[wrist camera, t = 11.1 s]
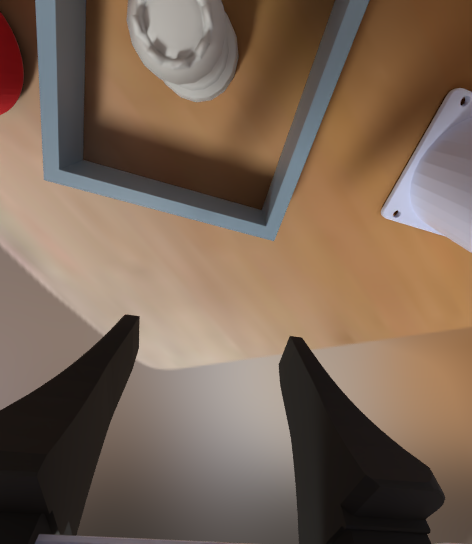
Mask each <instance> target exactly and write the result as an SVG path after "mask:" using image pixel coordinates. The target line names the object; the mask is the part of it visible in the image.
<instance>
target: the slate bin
mask: <svg viewBox="0 0 472 544" xmlns="http://www.w3.org/2000/svg"><path fill="white" fill-rule="evenodd" d="M368 3H369V0H335V2H334V5H333V8H332V11H331V14H330V17H329V19H328V22H327V25H326V28H325V31H324V34H323V36H322V39H321V42H320V45H319V48H318V51H317V54H316V56H315V59H314V62H313V65H312V68H311V71H310V74H309V76H308V79H307V82H306V85H305V88H304V91H303V94H302V96H301V99H300V102H299V105H298V108H297V111H296V113H295V116H294V119H293V122H292V125H291V128H290V131H289V133H288V136H287V139H286V142H285V145H284V148H283V151H282V153H281V156H280V159H279V162H278V165H277V168H276V171H275V173H274V176H273V179H272V182H271V185H270V188H269V191H268V193H267V196H266V199H265V202H264V205H263V208H262V210H259V209H256V208H252V207H249V206H245V205H242V204H238V203H235V202H231V201H227V200H224V199H220V198H217V197H213V196H210V195H206V194H203V193H199V192H196V191H192V190H189V189H185V188H181V187H178V186H174V185H171V184H167V183H164V182H160V181H157V180H153V179H150V178H146V177H142V176H139V175H135V174H132V173H128V172H125V171H121V170H118V169H114V168H111V167H107V166H104V165H100V164H96V163H93V162H89V161H86V160H83V137H84V84H85V31H86V0H35V5H36V26H37V46H38V67H39V87H40V108H41V129H42V149H43V170H44V180H46V181H50V182H54V183H57V184H61V185H65V186H69V187H72V188H76V189H80V190H84V191H87V192H91V193H95V194H99V195H102V196H106V197H110V198H114V199H118V200H121V201H125V202H129V203H133V204H136V205H140V206H144V207H148V208H151V209H155V210H159V211H163V212H166V213H170V214H174V215H178V216H181V217H185V218H189V219H193V220H196V221H200V222H204V223H208V224H212V225H215V226H219V227H223V228H227V229H230V230H234V231H238V232H242V233H245V234H249V235H253V236H257V237H260V238H264V239H268V240H272V241H274V240H275V237H276V235H277V232H278V230H279V227H280V225H281V222H282V220H283V217H284V215H285V212H286V210H287V207H288V205H289V202H290V199H291V197H292V194H293V192H294V189H295V187H296V184H297V182H298V179H299V177H300V174H301V172H302V169H303V167H304V164H305V162H306V159H307V157H308V154H309V152H310V149H311V146H312V144H313V141H314V139H315V136H316V134H317V131H318V129H319V126H320V124H321V121H322V119H323V116H324V114H325V111H326V109H327V106H328V104H329V101H330V99H331V96H332V93H333V91H334V88H335V86H336V83H337V81H338V78H339V76H340V73H341V71H342V68H343V66H344V63H345V61H346V58H347V56H348V53H349V51H350V48H351V46H352V43H353V40H354V38H355V35H356V33H357V30H358V28H359V25H360V23H361V20H362V18H363V15H364V13H365V10H366V8H367V5H368Z"/></svg>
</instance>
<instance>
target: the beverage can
mask: <svg viewBox="0 0 472 544" xmlns="http://www.w3.org/2000/svg"><path fill="white" fill-rule="evenodd" d="M23 79H24V71H23V62H22V56H21V53H20V49H19V46H18V43H17V41H16V38H15V36H14V34H13V32H12V30H11V28H10V26H9V24H8V23H7V21H6V19H5V18H4V16H3V15H2V13H1V12H0V115H1V114H3V113H5V112H7V111H8V110H10V109H11V108H12V107H13V106H14V105H15V103H16V101H17V100H18V98H19V96H20V94H21V90H22V86H23Z"/></svg>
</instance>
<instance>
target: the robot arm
mask: <svg viewBox="0 0 472 544" xmlns="http://www.w3.org/2000/svg"><path fill="white" fill-rule="evenodd" d="M463 97H465V102H464V104H463V105H460V102H461V99H462V98H463ZM397 210H398V213H397V214H396V215H394V216H393V213H394V212H395V211H397ZM381 214H382V216H383V217H385V218H386V219H389V220H393V221H396V222H399V223H403V224H406V225H409V226H413V227H416V228H419V229H423V230H426V231H429V232H433V233H436V234H439V235H443V236H446V237H448V238H449V239H451V240H452V241H454V242H455V243H457V244H459V245H460V246H462V247H463V248H465V249H466V250H468V251H470V252H471V253H472V92H471V91H468V90H466V89H464V88H455V89H453V90H451V91H450V92H449V93H448V94H447V96H446V97H445V99H444V101H443V103H442V104H441V106H440V108H439V110H438V111H437V113H436V115H435V117H434V118H433V120H432V122H431V124H430V125H429V127H428V129H427V131H426V132H425V134H424V136H423V138H422V139H421V141H420V143H419V145H418V146H417V148H416V150H415V152H414V153H413V155H412V157H411V159H410V160H409V162H408V164H407V166H406V167H405V169H404V171H403V173H402V174H401V176H400V178H399V180H398V181H397V183H396V185H395V187H394V188H393V190H392V192H391V194H390V195H389V197H388V199H387V201H386V202H385V204H384V206H383V208H382V210H381ZM138 349H139V316H133V315H124V316H123V317H122V318H121V319H120V320H119V322H118V323H117V324H116V325H115V326H114V327H113V328H112V329H111V330H110V331H109V332H108V333H107V334H106V335H105V336H104V337H103V338H102V339H101V340H100V341H99V342H97V343H96V344H95V345H94V346H93V347H92V348H91V349H90V350H89V351H87V352H86V353H85V354H84V355H83V356H82V357H80V358H79V359H78V360H77V361H76V362H74V363H73V364H72V365H70V366H69V367H68V368H67V369H65V370H64V371H63V372H61V373H60V374H58V375H57V376H56V377H54V378H53V379H51V380H50V381H48V382H47V383H45V384H44V385H42V386H41V387H39V388H38V389H36V390H35V391H33V392H31V393H30V394H28V395H26V396H25V397H23V398H21V399H19V400H18V401H16V402H14V403H13V404H11V405H9V406H7V407H6V408H4V409H2V410H0V544H250V543H228V542H206V541H205V542H204V541H182V540H159V539H137V538H116V537H93V536H76V535H77V530H78V527H79V524H80V520H81V517H82V513H83V509H84V506H85V502H86V499H87V495H88V492H89V489H90V485H91V482H92V478H93V475H94V472H95V468H96V465H97V462H98V459H99V455H100V452H101V449H102V446H103V443H104V440H105V436H106V433H107V430H108V427H109V424H110V421H111V419H112V416H113V414H114V411H115V409H116V407H117V404H118V402H119V400H120V397H121V395H122V392H123V390H124V388H125V386H126V383H127V381H128V378H129V376H130V374H131V371H132V369H133V366H134V362H135V359H136V356H137V352H138ZM279 375H280V386H281V391H282V396H283V401H284V406H285V410H286V415H287V420H288V425H289V430H290V436H291V442H292V451H293V460H294V471H295V482H296V496H297V510H298V531H299V544H431V542H430V540H429V538H428V535H427V534H429V533H430V528H429V526H428V524H427V521H426V518H427V517H429V516H430V515H431V514H433V513H434V512H435V511H437V510H438V509H439V508H440V507H441V506H442V505H443V503H444V500H445V496H444V493H443V491H442V489H441V488H440V486H439V484H438V482H437V480H436V478H435V477H434V475H433V473H432V471H431V470H430V468H429V467H428V466H426V465H425V464H424V463H422V462H421V461H420V460H418V459H417V458H415V457H414V456H413V455H411V454H410V453H409V452H407V451H406V450H405V449H403V448H402V447H401V446H399V445H398V444H397V443H396V442H395V441H393V440H392V439H391V438H390V437H388V436H387V435H386V434H385V433H384V432H383V431H381V430H380V429H379V428H378V427H377V426H376V425H375V424H374V423H373V422H371V420H369V419H368V418H367V417H366V416H365V415H364V414H363V413H362V412H361V411H360V410H359V409H358V408H357V407H356V406H355V405H354V404H353V403H352V402H351V401H350V399H349V398H348V397H347V396H346V395H345V394H344V393H343V392H342V391H341V389H340V388H339V387H338V386H337V385H336V383H335V382H334V381H333V380H332V379H331V377H330V376H329V375H328V373H327V372H326V371H325V369H324V368H323V367H322V365H321V364H320V363H319V361H318V360H317V358H316V357H315V356H314V354H313V353H312V351H311V350H310V348H309V347H308V346H307V344H306V343H305V341H304V340H303V339H302V338H301V337H293V336H290V337H289V340H288V342H287V345H286V347H285V350H284V353H283V355H282V358H281V360H280V363H279ZM436 544H462V543H436Z"/></svg>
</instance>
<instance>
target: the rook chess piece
mask: <svg viewBox="0 0 472 544" xmlns="http://www.w3.org/2000/svg"><path fill="white" fill-rule="evenodd" d="M127 24H128V28H129V32H130V37H131V41H132V45H133V47H134V48H135V50H136V52H137V54H138V55H139V57H140V59H141V60H142V62H143V64H144V65H145V66H146V67H147V68H148V69H149V70H150V71H152V72H153V73H154V74H155V75H156V76H157V77H158V78H160V79H162V80H163V81H164V83H165V84H166V85H167V86H168V87H169V88H170V89H172V90H173V91H174V92H175V93H176V94H177V95H179V96H180V97H182V98H185V99H188V100H191V101H194V102H201V101H209V100H212V99H214V98H215V97H217V96H218V95H220V94H221V93H223V92H224V91H225V90H226V88H227V87H228V85H229V84H230V82H231V81H232V79H233V78H234V75H235V71H236V66H237V62H238V58H239V57H238V46H237V36H236V34H235V31H234V29H233V27H232V24H231V22H230V20H229V17H228V15H227V14H226V12H225V11H224V6H223V4H222V1H221V0H128V10H127Z"/></svg>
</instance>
